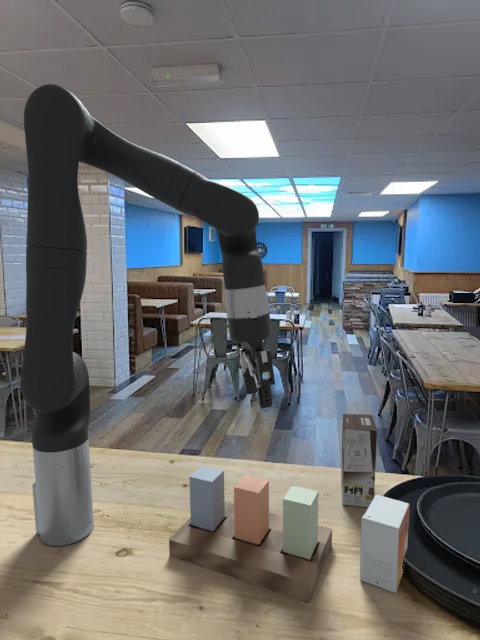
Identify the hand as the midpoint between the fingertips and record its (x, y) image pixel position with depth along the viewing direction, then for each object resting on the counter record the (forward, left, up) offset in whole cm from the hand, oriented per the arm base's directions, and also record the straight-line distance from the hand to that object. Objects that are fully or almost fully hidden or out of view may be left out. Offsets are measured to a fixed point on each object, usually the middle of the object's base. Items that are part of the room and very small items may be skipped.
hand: (258, 399), depth 80 cm
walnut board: (+2, -9, -24) cm, 25 cm away
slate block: (-6, -9, -21) cm, 23 cm away
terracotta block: (+2, -9, -21) cm, 22 cm away
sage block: (+11, -9, -21) cm, 25 cm away
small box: (+23, -5, -24) cm, 34 cm away
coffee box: (+15, +16, -24) cm, 33 cm away
